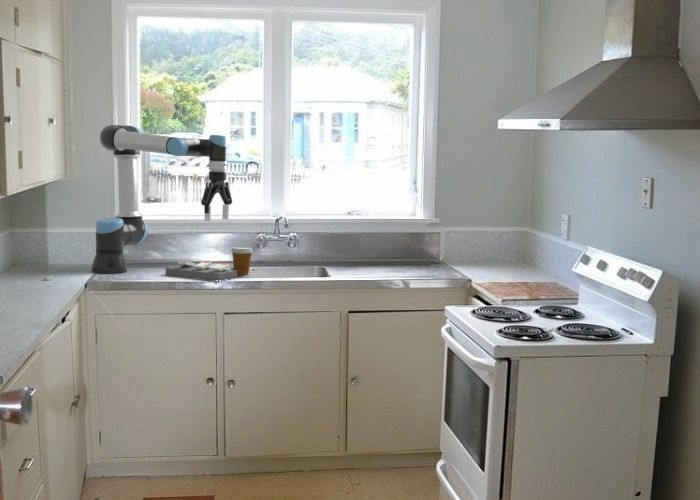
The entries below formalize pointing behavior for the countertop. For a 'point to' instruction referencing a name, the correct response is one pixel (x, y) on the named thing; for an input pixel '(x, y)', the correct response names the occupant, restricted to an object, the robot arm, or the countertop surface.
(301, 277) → the countertop surface
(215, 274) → the power strip
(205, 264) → the rocker middle
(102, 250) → the robot arm
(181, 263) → the block
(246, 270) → the disposable coffee cup
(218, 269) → the rocker right
